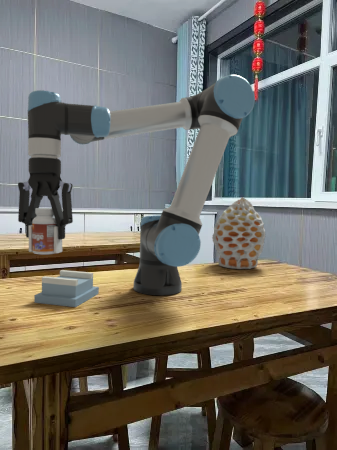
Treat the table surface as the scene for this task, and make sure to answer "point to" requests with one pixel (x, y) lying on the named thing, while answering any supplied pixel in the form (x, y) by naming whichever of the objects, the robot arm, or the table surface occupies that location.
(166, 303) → the table surface
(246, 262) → the sculpture
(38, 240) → the pill bottle
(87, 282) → the pedestal
